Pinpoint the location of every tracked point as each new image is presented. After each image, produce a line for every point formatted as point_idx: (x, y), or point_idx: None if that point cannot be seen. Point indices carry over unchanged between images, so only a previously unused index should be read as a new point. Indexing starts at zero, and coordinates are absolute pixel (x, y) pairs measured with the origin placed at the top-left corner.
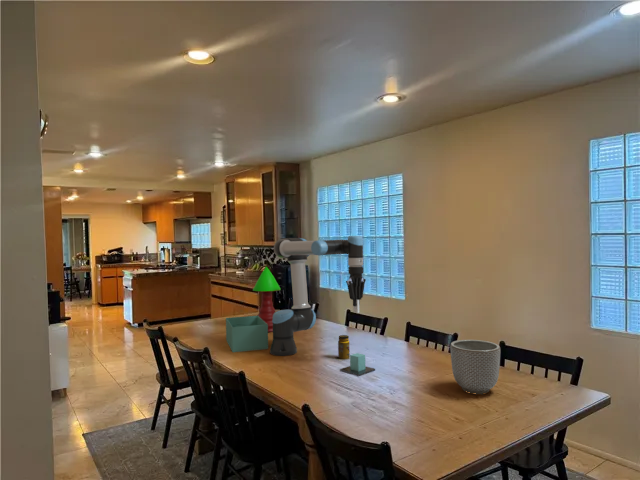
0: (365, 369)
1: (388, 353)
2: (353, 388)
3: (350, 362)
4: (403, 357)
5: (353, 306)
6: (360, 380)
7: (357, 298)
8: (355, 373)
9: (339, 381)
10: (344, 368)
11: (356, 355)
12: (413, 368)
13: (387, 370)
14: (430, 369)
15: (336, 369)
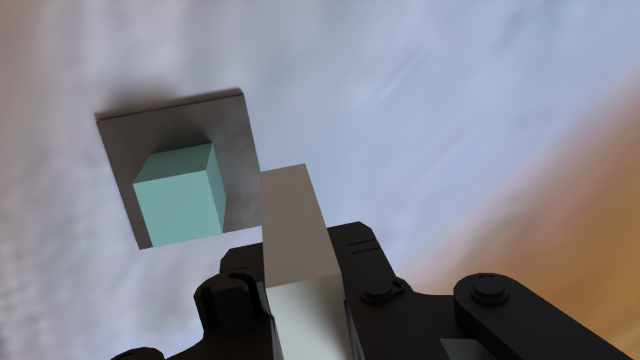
0: None
1: (574, 15)
2: (17, 353)
3: (143, 169)
4: (556, 135)
5: (261, 213)
6: (109, 293)
7: (354, 357)
8: (132, 226)
9: (3, 253)
10: (128, 124)
11: (166, 212)
12: (432, 291)
13: None
14: None
15: (94, 80)
